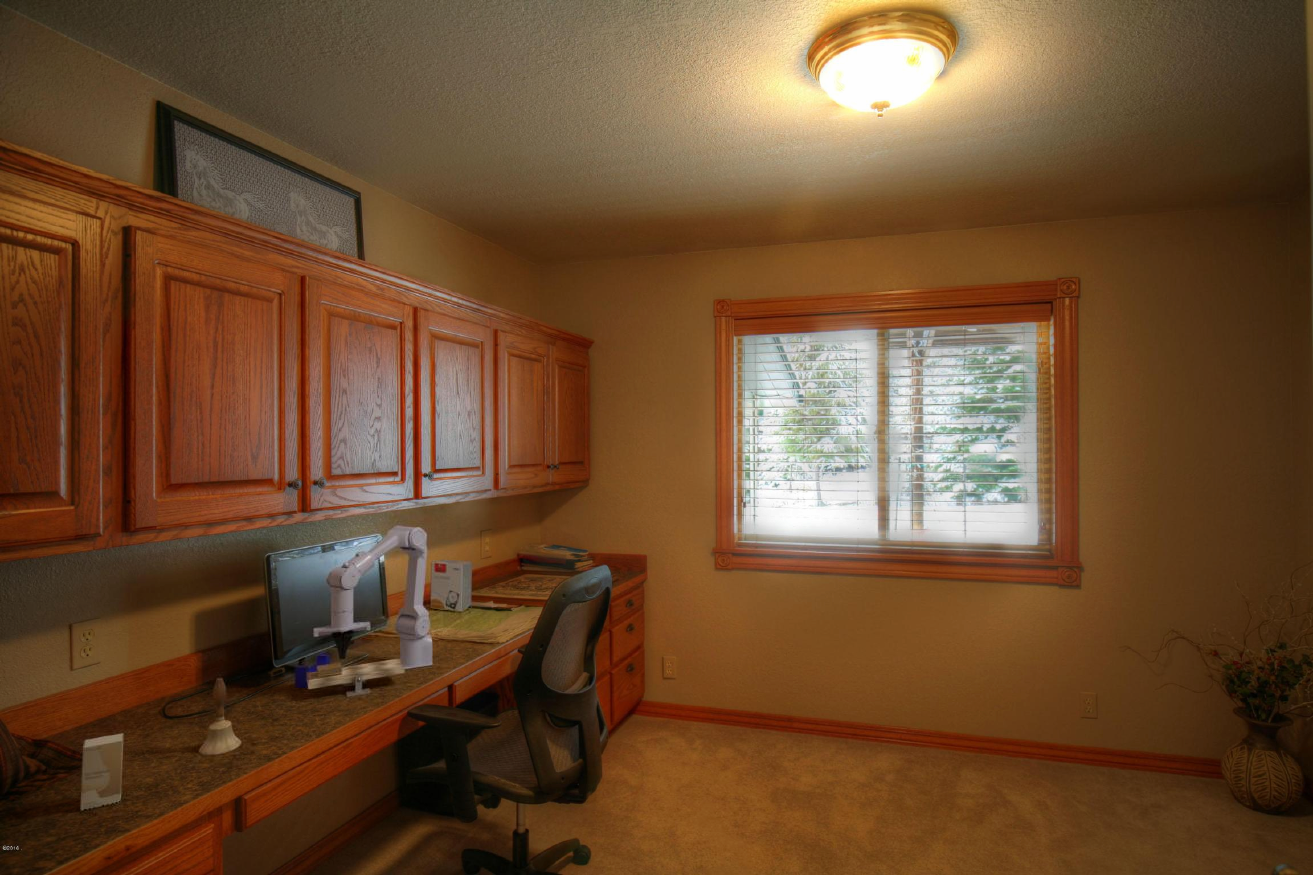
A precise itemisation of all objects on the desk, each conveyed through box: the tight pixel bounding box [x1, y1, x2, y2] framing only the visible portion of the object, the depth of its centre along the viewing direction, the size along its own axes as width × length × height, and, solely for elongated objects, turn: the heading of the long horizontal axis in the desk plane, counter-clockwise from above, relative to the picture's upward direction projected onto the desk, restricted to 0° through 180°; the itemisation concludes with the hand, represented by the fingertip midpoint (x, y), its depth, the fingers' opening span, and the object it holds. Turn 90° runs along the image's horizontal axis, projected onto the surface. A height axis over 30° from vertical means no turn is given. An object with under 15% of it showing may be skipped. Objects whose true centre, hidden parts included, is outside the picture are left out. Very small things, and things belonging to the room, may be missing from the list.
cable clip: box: [294, 653, 330, 689], centre depth 205 cm, size 12×4×6 cm, turn 173°
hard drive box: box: [430, 559, 473, 611], centre depth 290 cm, size 16×8×20 cm, turn 72°
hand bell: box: [198, 677, 242, 756], centre depth 160 cm, size 8×8×16 cm
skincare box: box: [79, 732, 125, 811], centre depth 136 cm, size 6×4×12 cm
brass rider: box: [317, 662, 343, 679], centre depth 194 cm, size 6×4×3 cm
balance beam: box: [307, 658, 406, 690], centre depth 198 cm, size 25×7×3 cm, turn 120°
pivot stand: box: [342, 675, 371, 698], centre depth 198 cm, size 6×11×5 cm, turn 30°
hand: (342, 658), depth 196 cm, fingers closed
